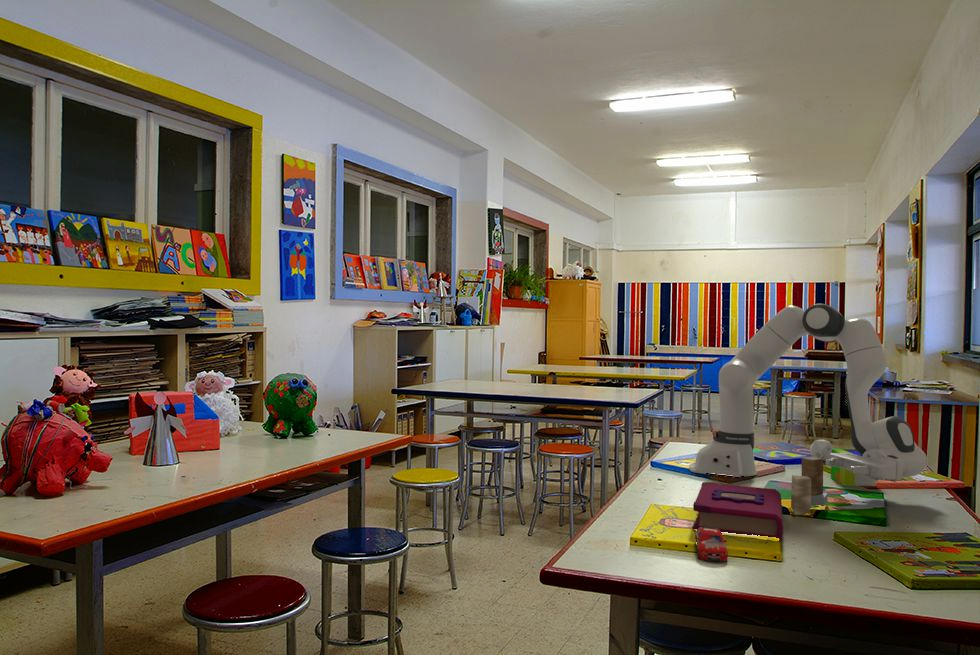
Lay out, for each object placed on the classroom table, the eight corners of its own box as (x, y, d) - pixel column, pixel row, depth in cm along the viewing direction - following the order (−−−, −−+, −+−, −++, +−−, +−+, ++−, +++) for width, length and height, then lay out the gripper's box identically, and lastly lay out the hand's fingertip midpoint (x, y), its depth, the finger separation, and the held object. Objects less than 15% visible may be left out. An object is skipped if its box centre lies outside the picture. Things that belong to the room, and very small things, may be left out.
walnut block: (812, 495, 206) (811, 459, 206) (801, 492, 210) (801, 457, 210) (823, 494, 207) (823, 459, 207) (812, 491, 211) (812, 456, 211)
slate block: (797, 508, 207) (797, 494, 207) (800, 503, 213) (801, 489, 213) (823, 512, 204) (824, 497, 204) (827, 506, 210) (827, 493, 210)
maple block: (794, 514, 199) (796, 478, 199) (790, 510, 203) (791, 475, 203) (810, 515, 199) (811, 479, 199) (805, 511, 203) (806, 476, 203)
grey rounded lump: (807, 462, 274) (822, 445, 269) (802, 447, 282) (817, 430, 276) (827, 470, 275) (842, 453, 270) (821, 455, 282) (836, 438, 277)
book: (780, 514, 201) (781, 487, 201) (782, 544, 175) (783, 513, 174) (701, 506, 208) (702, 479, 208) (691, 533, 182) (692, 503, 182)
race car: (729, 566, 158) (729, 544, 158) (697, 563, 160) (697, 541, 160) (723, 543, 174) (724, 522, 174) (694, 540, 176) (695, 520, 175)
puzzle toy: (875, 486, 236) (876, 455, 235) (844, 485, 236) (845, 454, 236) (860, 479, 246) (861, 449, 245) (830, 478, 246) (831, 448, 246)
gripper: (850, 447, 225) (813, 448, 221) (906, 460, 206) (867, 462, 201) (849, 467, 225) (813, 469, 221) (905, 482, 206) (866, 485, 202)
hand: (839, 466), depth 211 cm, fingers open, 8 cm apart
